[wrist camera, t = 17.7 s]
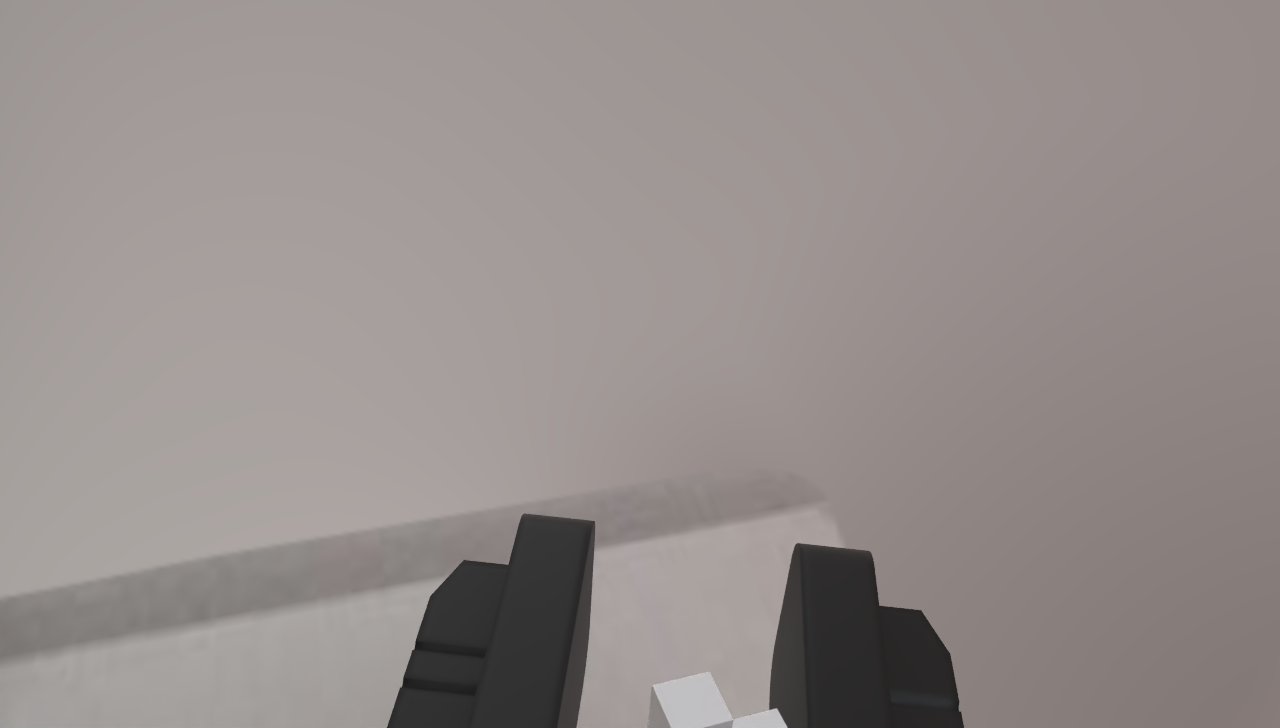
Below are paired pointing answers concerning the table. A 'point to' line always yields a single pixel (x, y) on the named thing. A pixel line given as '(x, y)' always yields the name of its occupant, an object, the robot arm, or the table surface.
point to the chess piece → (700, 707)
